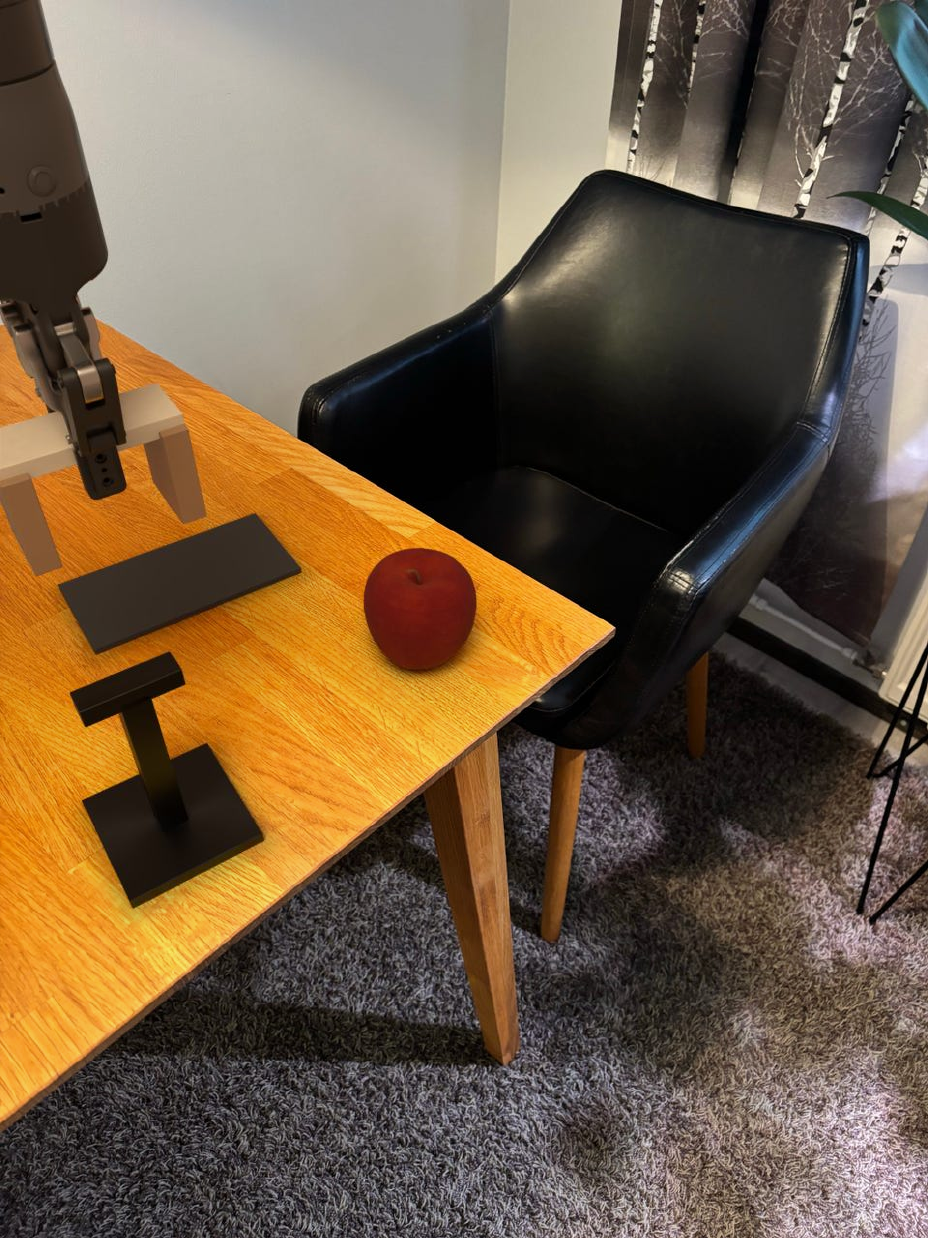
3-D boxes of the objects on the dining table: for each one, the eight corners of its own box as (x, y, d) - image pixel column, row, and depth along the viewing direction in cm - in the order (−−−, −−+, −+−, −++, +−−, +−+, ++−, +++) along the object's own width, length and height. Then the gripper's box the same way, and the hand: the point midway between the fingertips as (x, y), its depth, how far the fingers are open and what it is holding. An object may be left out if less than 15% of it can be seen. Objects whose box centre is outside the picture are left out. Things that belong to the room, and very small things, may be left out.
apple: (426, 599, 90) (426, 514, 83) (497, 655, 85) (503, 570, 78) (345, 647, 85) (337, 561, 78) (415, 709, 81) (414, 624, 74)
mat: (95, 654, 84) (93, 650, 84) (59, 589, 90) (57, 584, 89) (301, 572, 92) (301, 567, 92) (256, 517, 98) (255, 512, 98)
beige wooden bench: (35, 577, 56) (-4, 476, 51) (11, 528, 59) (-29, 429, 54) (207, 516, 61) (186, 418, 55) (176, 474, 64) (153, 377, 59)
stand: (132, 909, 67) (72, 769, 56) (84, 807, 73) (21, 663, 62) (264, 840, 71) (233, 698, 60) (209, 750, 77) (171, 604, 66)
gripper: (-114, 141, 48) (-3, 434, 60) (-44, 247, 40) (69, 562, 52) (40, 115, 51) (116, 399, 63) (135, 209, 43) (201, 516, 55)
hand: (94, 471), depth 57 cm, fingers closed on beige wooden bench, 4 cm apart
